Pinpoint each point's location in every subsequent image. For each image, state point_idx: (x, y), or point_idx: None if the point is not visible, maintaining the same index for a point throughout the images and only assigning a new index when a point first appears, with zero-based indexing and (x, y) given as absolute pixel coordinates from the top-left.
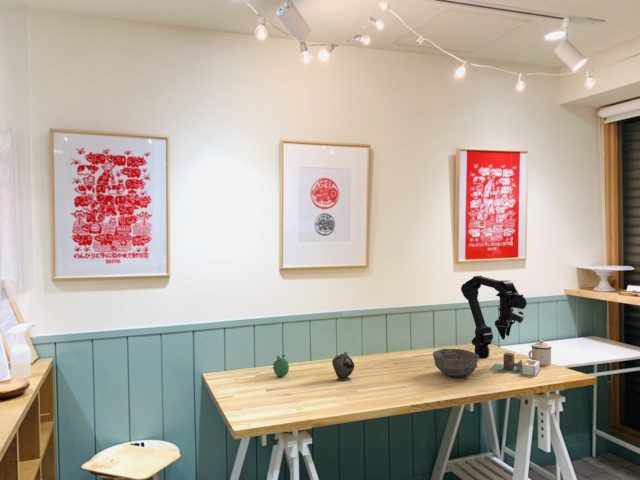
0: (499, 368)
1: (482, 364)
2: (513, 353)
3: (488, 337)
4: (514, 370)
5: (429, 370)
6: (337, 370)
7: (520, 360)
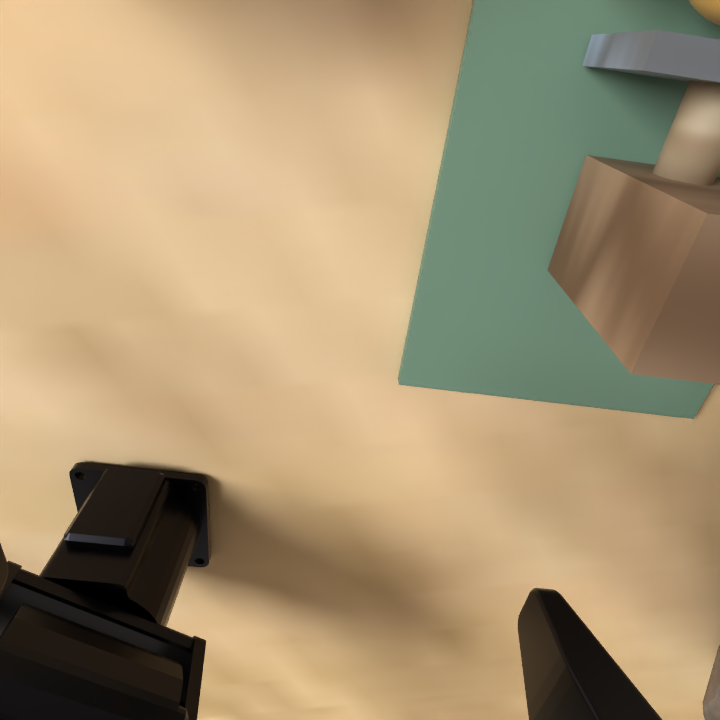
0: None
1: (446, 477)
2: (710, 230)
3: (81, 703)
4: None
5: None
6: None
7: (686, 58)
